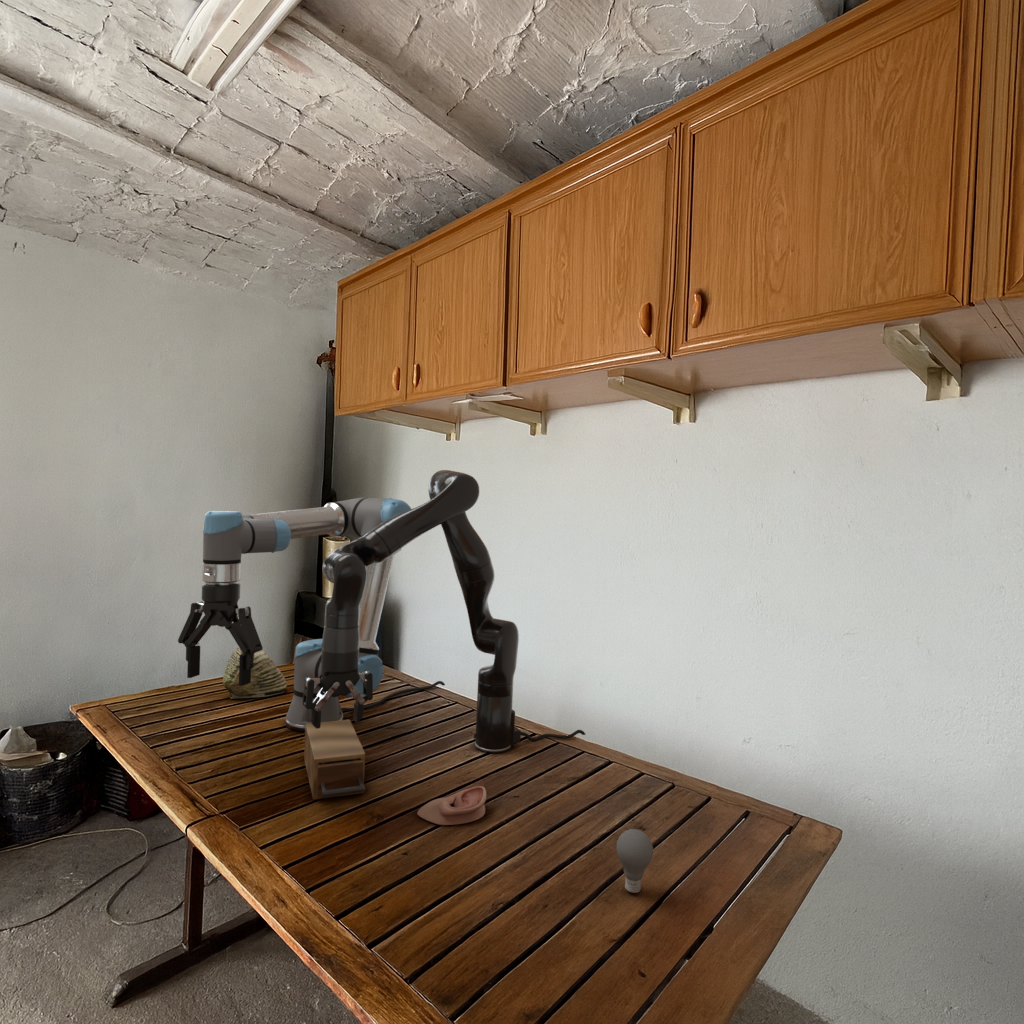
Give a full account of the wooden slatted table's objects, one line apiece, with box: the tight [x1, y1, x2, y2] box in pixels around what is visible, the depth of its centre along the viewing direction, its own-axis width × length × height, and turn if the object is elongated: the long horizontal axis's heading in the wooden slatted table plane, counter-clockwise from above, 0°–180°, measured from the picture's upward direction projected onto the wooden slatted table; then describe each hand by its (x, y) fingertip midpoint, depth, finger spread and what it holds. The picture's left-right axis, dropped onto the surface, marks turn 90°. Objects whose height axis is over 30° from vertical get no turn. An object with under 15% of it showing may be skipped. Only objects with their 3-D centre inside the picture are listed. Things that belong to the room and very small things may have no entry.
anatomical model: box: [416, 785, 488, 826], centre depth 129 cm, size 13×4×12 cm
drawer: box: [316, 759, 366, 800], centre depth 140 cm, size 26×9×7 cm, turn 23°
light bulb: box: [615, 828, 654, 894], centre depth 106 cm, size 6×6×10 cm
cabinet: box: [303, 719, 366, 800], centre depth 144 cm, size 22×10×9 cm, turn 23°
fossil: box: [222, 646, 288, 699], centre depth 198 cm, size 9×18×15 cm, turn 132°
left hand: (218, 680), depth 137 cm, fingers open, 13 cm apart
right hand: (337, 724), depth 133 cm, fingers open, 8 cm apart
